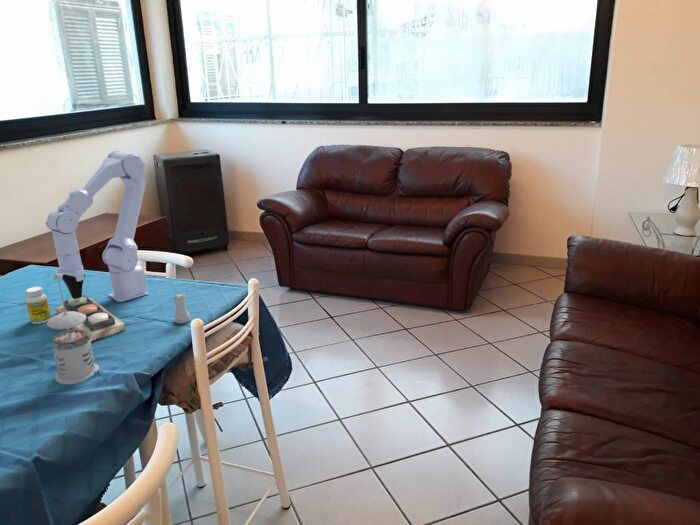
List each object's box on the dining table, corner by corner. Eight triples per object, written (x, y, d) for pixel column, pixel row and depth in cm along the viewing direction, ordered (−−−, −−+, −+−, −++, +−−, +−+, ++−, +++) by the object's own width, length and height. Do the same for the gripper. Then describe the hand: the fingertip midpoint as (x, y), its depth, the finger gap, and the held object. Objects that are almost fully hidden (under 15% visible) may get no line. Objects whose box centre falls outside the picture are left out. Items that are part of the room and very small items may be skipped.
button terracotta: (94, 309, 164) (93, 302, 163) (100, 314, 160) (99, 307, 160) (76, 314, 161) (74, 308, 160) (82, 320, 157) (81, 313, 156)
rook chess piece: (194, 318, 162) (191, 292, 159) (183, 325, 158) (180, 298, 155) (181, 316, 164) (178, 290, 161) (170, 322, 160) (167, 296, 157)
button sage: (84, 301, 169) (83, 295, 169) (90, 306, 166) (89, 299, 165) (66, 306, 166) (65, 299, 166) (72, 311, 163) (71, 304, 162)
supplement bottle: (50, 314, 166) (43, 284, 163) (53, 321, 162) (46, 289, 159) (29, 319, 164) (22, 288, 160) (31, 326, 159) (24, 294, 156)
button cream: (105, 317, 158) (103, 311, 158) (112, 323, 155) (110, 316, 154) (86, 323, 155) (85, 316, 154) (93, 329, 152) (91, 322, 151)
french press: (53, 388, 129) (30, 284, 120) (55, 364, 139) (34, 267, 130) (100, 378, 132) (81, 277, 124) (99, 356, 142) (81, 260, 134)
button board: (91, 303, 173) (89, 292, 172) (125, 330, 156) (123, 317, 154) (56, 313, 167) (54, 301, 165) (87, 342, 149) (85, 329, 148)
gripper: (44, 250, 163) (54, 294, 168) (61, 262, 153) (71, 309, 158) (70, 244, 168) (79, 288, 172) (88, 256, 157) (97, 301, 162)
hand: (77, 297), depth 165 cm, fingers closed
